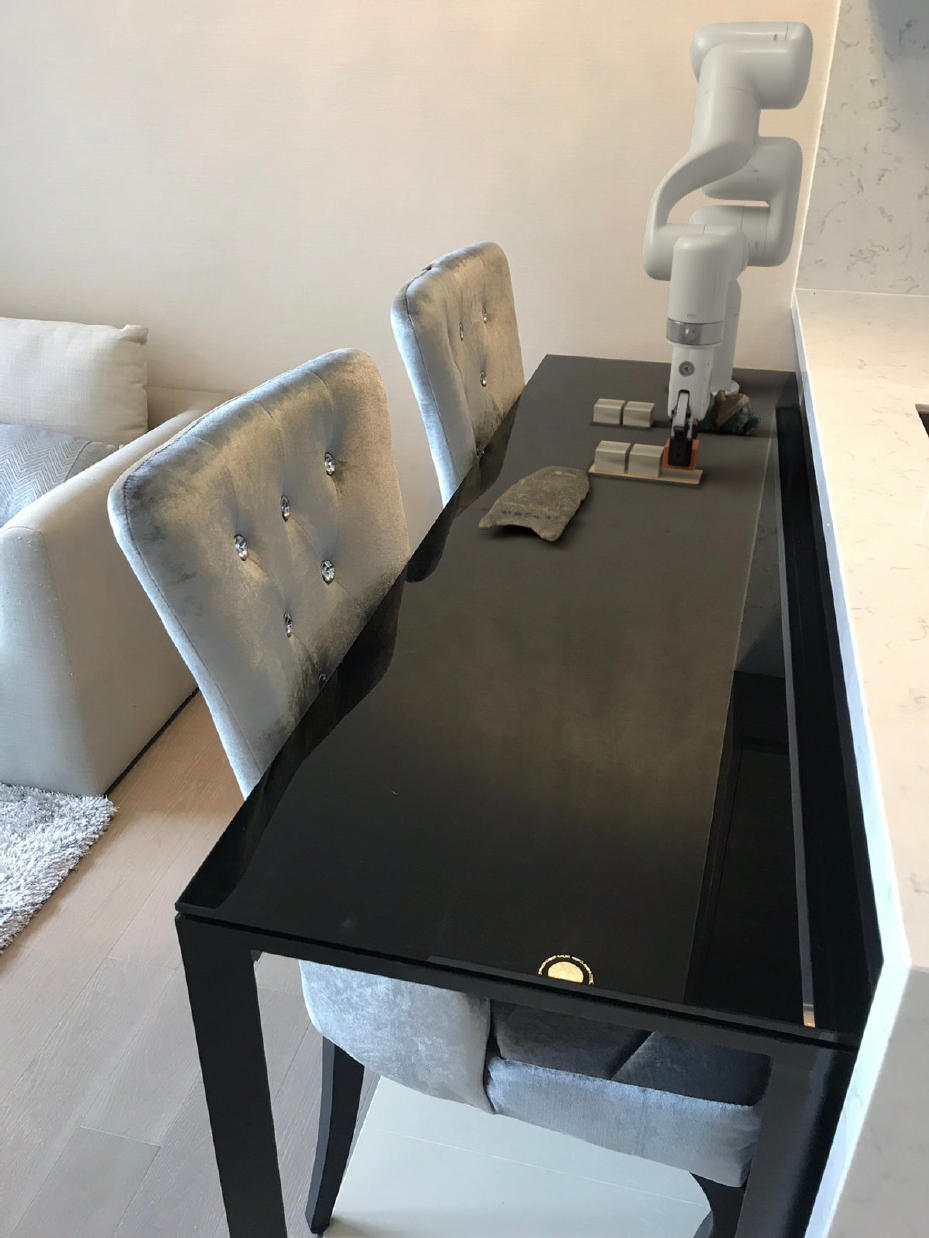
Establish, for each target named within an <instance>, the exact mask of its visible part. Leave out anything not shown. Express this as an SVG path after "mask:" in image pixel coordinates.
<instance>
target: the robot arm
mask: <svg viewBox="0 0 929 1238" xmlns="http://www.w3.org/2000/svg"><path fill="white" fill-rule="evenodd" d="M813 53H814V39H813V33H812V30H811V28H810V26H809V25H808V24H806V23H804V22H800V21H760V22H759V21H758V22H757V21H740V22H739V21H731V22H719V23H711V24H707V25H704V26H701V27H700V28H698V29H697V30H696V31H695V32H694V33H693V35H692V37H691V40H690V45H689V57H690V64H691V69H692V72H693V75H694V77H695V80H696V82H697V84H698V85H697V92H696V99H695V107H694V108H695V109H694V115H693V122H692V128H691V134H690V143H689V148H688V151H687V153H686V154H684V155H683V156H682V157H681V158H680V159H679V160H678V161H677V162H676V163H674V164H673V166H672V167H671V168H670V169H669V170H668V171H667V173H665V175H664V176H663V177H662V179H661V180H660V181H659V184H658V185H657V187H656V189H655V190H654V192H653V193H652V194H653V195H652V198H651V200H650V203H649V207H648V210H647V211H648V212H647V218H646V224H645V229H644V231H645V232H644V238H643V244H642V245H643V246H642V257H641V258H642V266H643V269H644V272H645V274H646V275H647V276H648V277H650V278H651V279H652V280H655V281H664V282H670V283H669V284H670V286H669V295H668V296H669V297H668V309H667V317H666V318H667V320H666V330H665V331H666V332H665V340H664V341H665V343H666V345H669V346H672V355H671V364H670V365H671V366H670V374H669V382H668V400H667V416H668V417H669V419H670V418H671V419H672V418H673V423H672V424H671V432H670V436H669V437H670V441H669V451H668V461H667V463H668V465H671V466H680V467H689V466H690V464H691V455H692V446H693V439H695V440H698V431H699V428H698V426H697V421H701V420H702V419H703V418H704V416H705V414H706V412H707V409H708V407H709V403H710V392H712V393H713V395H714V396H716V394H717V392H718V391H720V390H723V391H724V390H725V391H726V392H725V394H726V395H731V394H739V392H740V385H739V384H738V383H737V382H736V381H735V380H733V369H734V361H735V354H736V346H737V344H736V343H737V337H738V330H739V329H738V328H739V321H740V313H741V306H742V305H741V304H742V297H743V296H742V288H741V285H740V283H739V281H738V280H737V279H738V278H739V277H740V276H741V275H742V273H743V272H745V271H746V269H747V267H755V268H756V267H757V268H758V267H759V268H774V267H775V268H776V267H779V266H781V265H783V264H784V263H785V262H786V260H788V258H789V256H790V253H791V250H792V246H793V242H794V241H793V240H794V234H795V228H796V219H797V213H798V206H799V198H800V191H801V183H802V176H803V164H804V163H803V161H804V160H803V159H804V158H803V151H802V147H801V144H800V143H799V142H798V141H797V140H796V139H795V138H791V137H788V136H787V137H786V136H762V135H761V136H760V134H759V127H760V120H761V112H762V110H792V109H793V110H794V109H795V108H797V107H798V106H799V105H800V104H801V102H802V100H803V99H804V97H805V94H806V92H807V88H808V84H809V81H810V75H811V68H812V61H813ZM699 189H701V191H702V192H703V194H704V195H705V196H706V197H708V198H711V199H713V200H721V201H722V200H723V201H749V202H765V203H766V204H767V205H768V206H765V205H764V206H761V205H756V206H755V205H743V204H742V205H739V204H737V205H736V204H734V205H733V204H712V205H706V206H703V207H701V208H698V209H696V210H695V211H694V212H692V213H693V214H691V215H690V218H689V220H688V222H687V223H670V222H669V223H668V221H669V216H670V213H671V212H672V209H673V208H674V206H676V205H677V203H678V202H679V201H680V200H682V199H683V198H684V197H686V196H687V195H689V194H691V193H692V192H695V191H697V190H699ZM671 419H670V420H671Z"/></svg>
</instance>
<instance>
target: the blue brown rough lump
mask: <svg viewBox="0 0 929 1238" xmlns="http://www.w3.org/2000/svg"><path fill="white" fill-rule="evenodd" d="M725 392H726V391H725V390H724V391H723V390H720V391H718V392H717V394H716V396H714V395H713V393H712V392H710V403H709V407H708V409H707V412H706V414H705V416H704V418H703V419H702V420H701V421H697V427H701V428H702V429H704V430H707V429H708V428H710V425H711V426H713V428H714V429H718V430H719V431H721V432H723V433H729V434H737V433H738V432H740V430H742V433H743V435H744V436H745V435H747V436H749V434H751V432H753V431H755V430H757V428H758V425H760V424H761V422H762V421H761V420H762V419H761V417H757V415H755V412H756V411H755V410H756V409H755V408H754V407H753V404H752V403H751V401H750V400H751V399H750V397H748V395H746V394H745V393H744V394H743V393H738V394H731V395H726V394H725ZM669 419H670V420H669V423H670V424H671V425H672V423H673V418H672V419H671V418H670V417H669Z"/></svg>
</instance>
